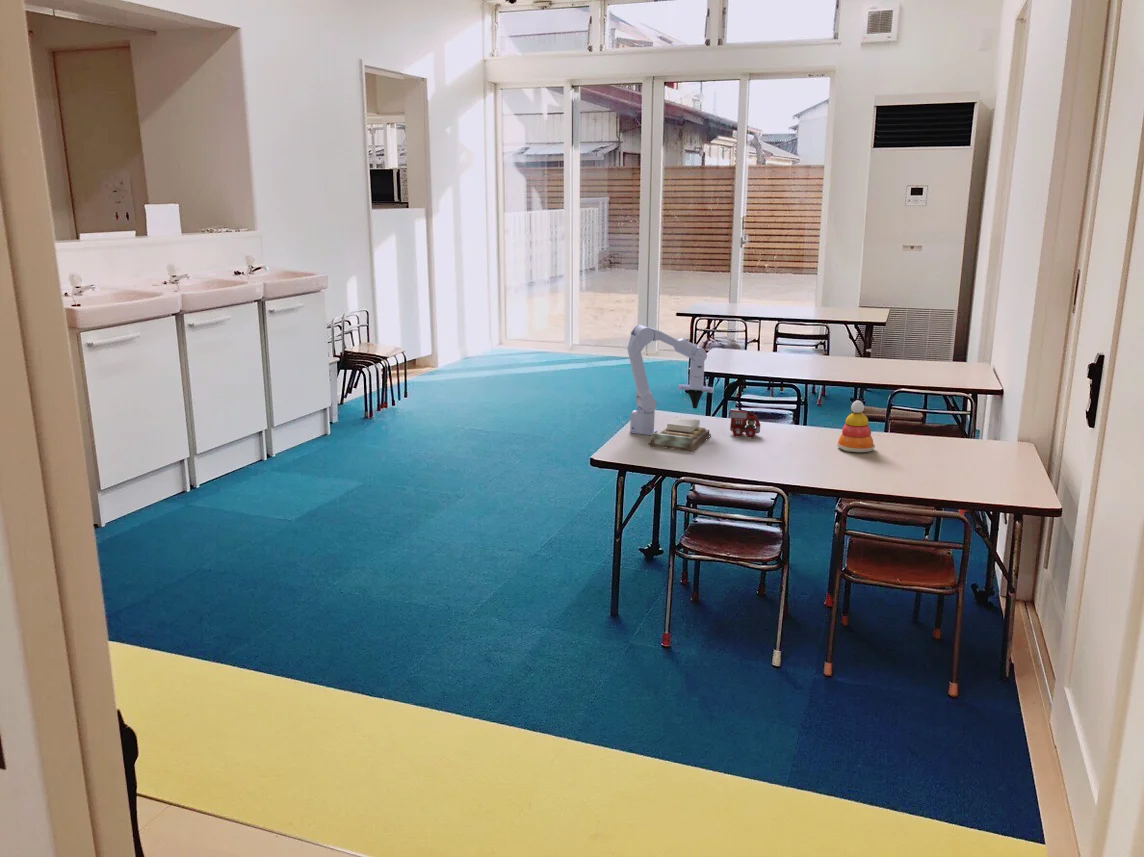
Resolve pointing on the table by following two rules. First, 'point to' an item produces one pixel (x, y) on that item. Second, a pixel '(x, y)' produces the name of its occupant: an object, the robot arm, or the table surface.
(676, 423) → the stone slab
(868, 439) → the stacking toy
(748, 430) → the toy fire truck
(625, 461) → the table surface
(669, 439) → the brown-green flat block
